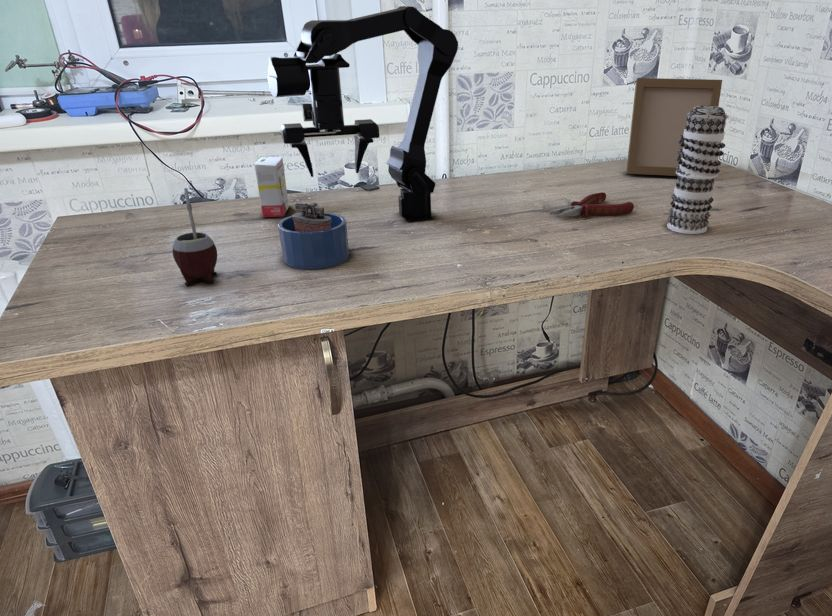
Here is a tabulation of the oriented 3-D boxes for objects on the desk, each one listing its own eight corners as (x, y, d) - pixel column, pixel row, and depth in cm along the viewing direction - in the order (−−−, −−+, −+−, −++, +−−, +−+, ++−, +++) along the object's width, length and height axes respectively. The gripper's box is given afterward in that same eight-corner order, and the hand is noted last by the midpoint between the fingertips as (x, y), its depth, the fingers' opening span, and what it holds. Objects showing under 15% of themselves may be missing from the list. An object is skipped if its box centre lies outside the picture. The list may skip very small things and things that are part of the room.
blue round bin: (343, 242, 129) (339, 209, 125) (354, 264, 118) (350, 228, 115) (280, 250, 125) (275, 215, 121) (286, 273, 115) (281, 236, 111)
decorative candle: (657, 227, 137) (676, 107, 125) (677, 218, 143) (697, 102, 131) (696, 237, 132) (720, 112, 120) (715, 227, 138) (740, 107, 125)
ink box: (283, 217, 143) (276, 164, 137) (261, 217, 142) (253, 165, 137) (290, 206, 150) (283, 155, 144) (269, 206, 150) (261, 156, 144)
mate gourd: (197, 291, 108) (177, 205, 100) (168, 281, 111) (147, 198, 104) (232, 276, 113) (216, 194, 106) (204, 267, 117) (186, 187, 109)
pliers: (537, 213, 146) (537, 202, 144) (601, 200, 155) (602, 190, 154) (569, 227, 137) (570, 216, 136) (635, 213, 147) (636, 202, 146)
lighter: (339, 254, 121) (333, 203, 116) (329, 260, 119) (323, 208, 114) (304, 248, 124) (297, 198, 119) (293, 254, 121) (286, 203, 116)
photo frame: (707, 180, 172) (726, 82, 160) (626, 177, 175) (638, 80, 163) (699, 167, 185) (716, 75, 172) (624, 164, 188) (635, 74, 175)
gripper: (365, 86, 131) (371, 162, 139) (273, 90, 125) (284, 169, 133) (377, 93, 122) (382, 174, 129) (278, 98, 116) (289, 182, 124)
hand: (334, 174), depth 129 cm, fingers open, 9 cm apart
